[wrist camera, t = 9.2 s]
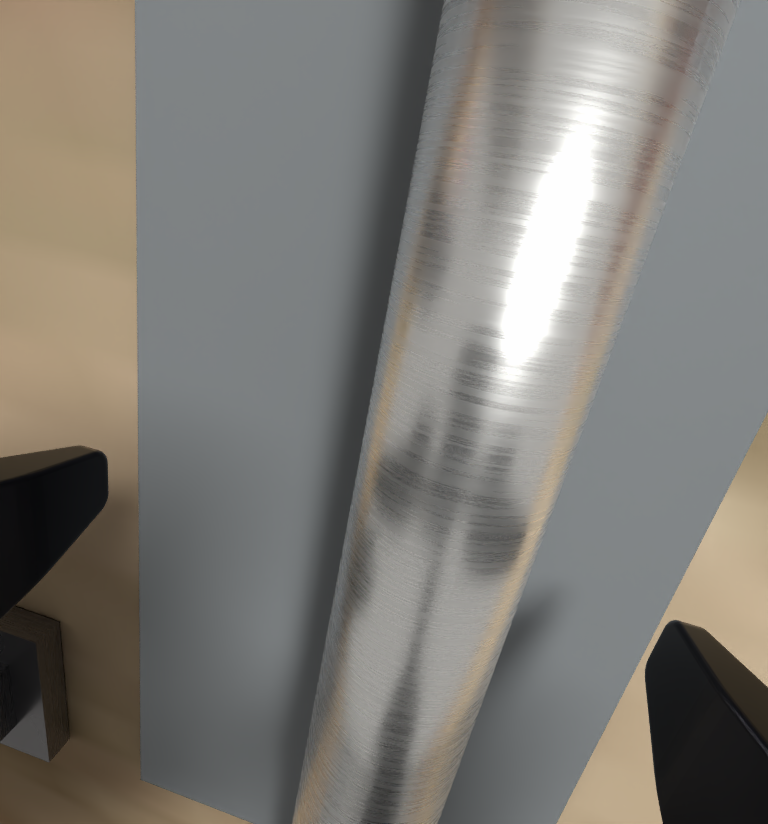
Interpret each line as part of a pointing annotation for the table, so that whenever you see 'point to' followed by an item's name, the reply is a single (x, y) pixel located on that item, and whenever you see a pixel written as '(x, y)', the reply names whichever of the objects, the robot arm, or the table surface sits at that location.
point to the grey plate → (352, 386)
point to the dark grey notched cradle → (32, 685)
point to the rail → (491, 365)
